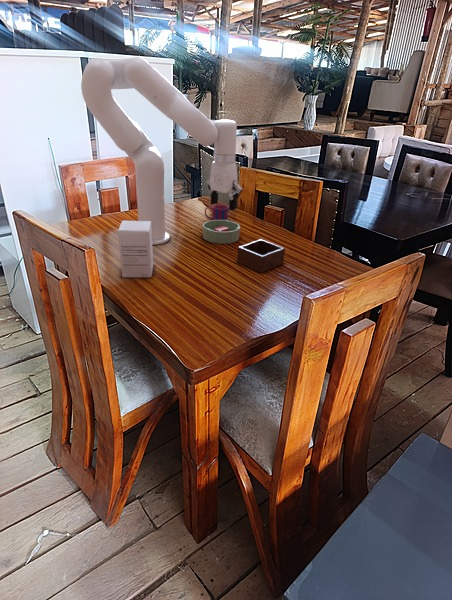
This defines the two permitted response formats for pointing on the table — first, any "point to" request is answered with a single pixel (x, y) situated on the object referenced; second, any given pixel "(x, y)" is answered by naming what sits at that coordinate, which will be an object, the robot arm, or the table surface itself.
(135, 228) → the white product box
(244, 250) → the box
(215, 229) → the red small block
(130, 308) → the table surface
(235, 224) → the bowl
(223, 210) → the mug
